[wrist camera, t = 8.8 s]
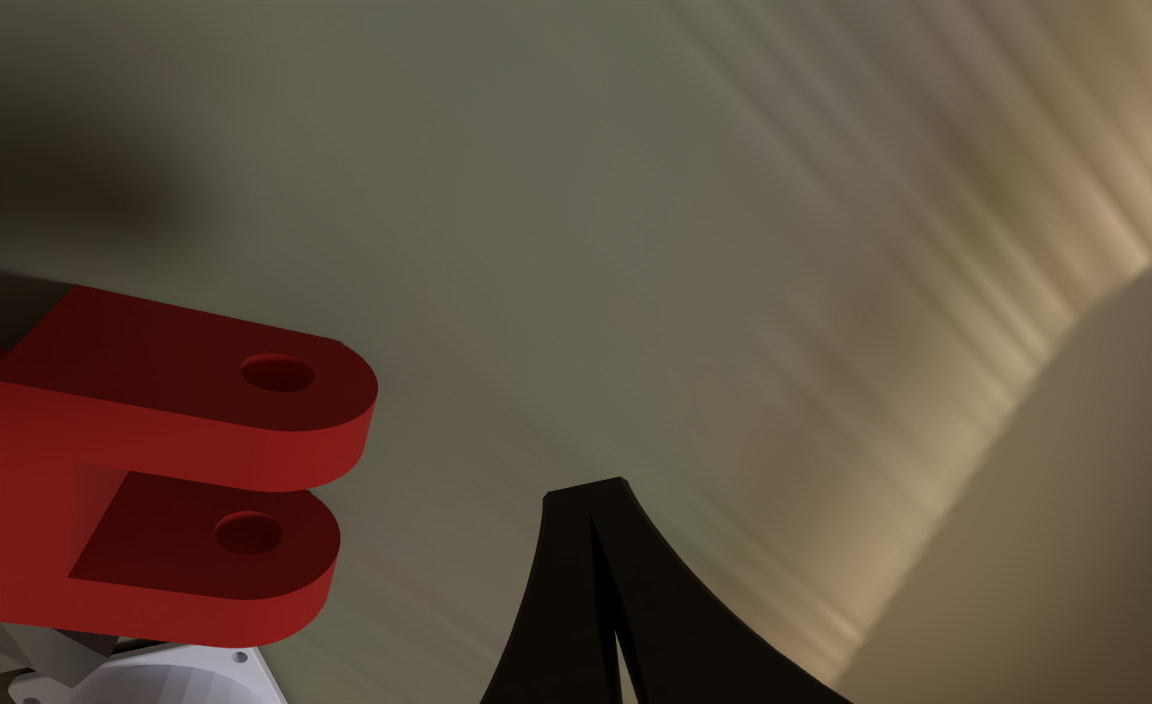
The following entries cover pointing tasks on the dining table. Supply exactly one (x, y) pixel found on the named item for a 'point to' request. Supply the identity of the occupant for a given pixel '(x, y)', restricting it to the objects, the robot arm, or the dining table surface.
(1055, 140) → the dining table surface
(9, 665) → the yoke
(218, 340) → the mechanical linkage
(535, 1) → the dining table surface
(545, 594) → the robot arm
